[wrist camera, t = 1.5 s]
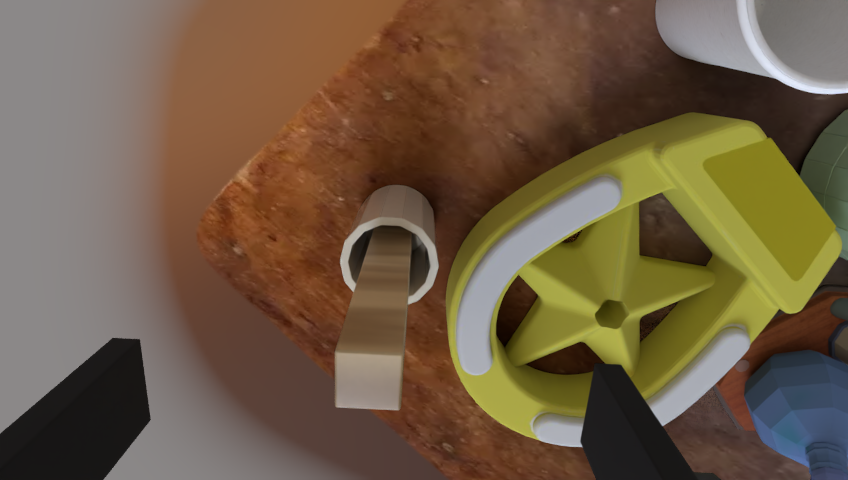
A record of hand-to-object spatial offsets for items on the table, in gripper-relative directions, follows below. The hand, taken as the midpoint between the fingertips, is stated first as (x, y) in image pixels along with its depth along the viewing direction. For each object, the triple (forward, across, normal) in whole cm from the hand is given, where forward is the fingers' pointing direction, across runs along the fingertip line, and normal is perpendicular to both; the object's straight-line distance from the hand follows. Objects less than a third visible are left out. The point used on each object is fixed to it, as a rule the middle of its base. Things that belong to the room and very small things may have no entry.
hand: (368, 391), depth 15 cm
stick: (+16, 0, 0) cm, 16 cm away
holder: (+17, 0, 0) cm, 17 cm away
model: (+17, +28, -8) cm, 33 cm away
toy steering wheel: (+17, +13, -3) cm, 22 cm away
